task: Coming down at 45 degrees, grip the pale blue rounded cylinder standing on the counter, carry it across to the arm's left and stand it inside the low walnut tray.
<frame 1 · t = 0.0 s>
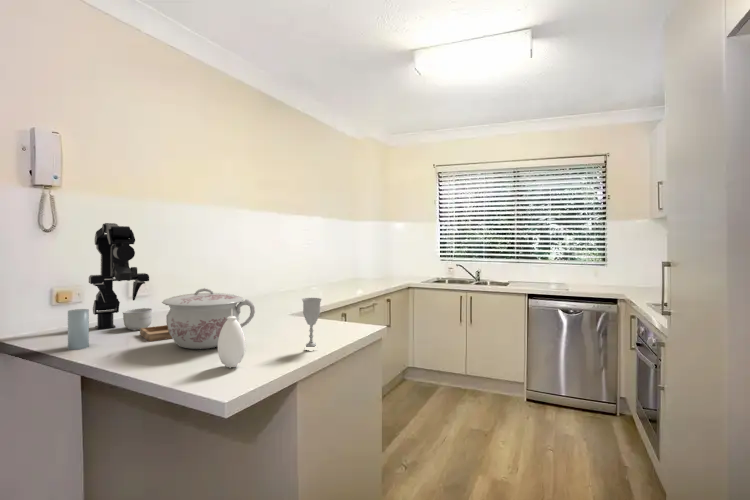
hand: (119, 301, 156), 15 cm above the worktop, tool pointing down, fingers open, 9 cm apart
chamber pot: (204, 345, 152), on the worktop
pale blue rounded cylinder: (78, 347, 146), on the worktop
teacup: (139, 328, 178), on the worktop
chalice: (311, 350, 148), on the worktop
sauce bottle: (231, 367, 127), on the worktop
tray: (161, 335, 164), on the worktop
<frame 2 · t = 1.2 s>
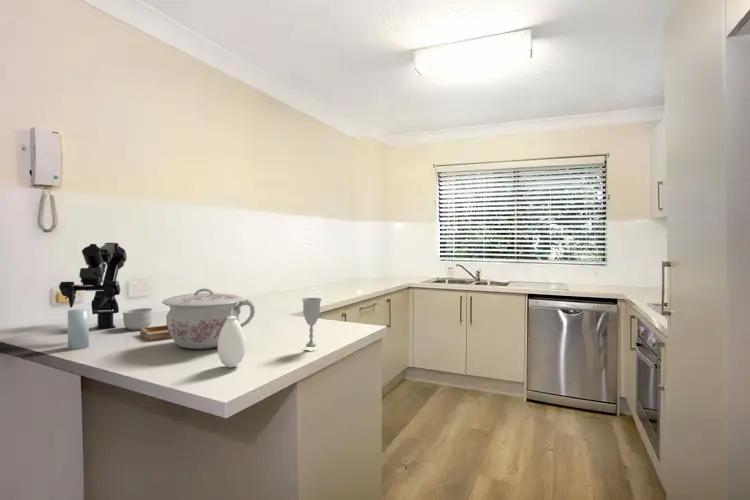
hand: (85, 306, 152), 13 cm above the worktop, tool tilted 45°, fingers open, 9 cm apart
nothing on the worktop moved.
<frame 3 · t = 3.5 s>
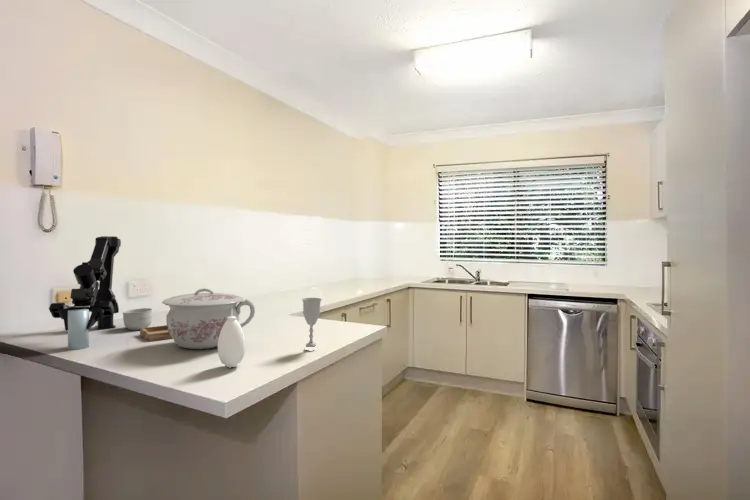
hand: (76, 329, 144), 7 cm above the worktop, tool tilted 45°, fingers closed on pale blue rounded cylinder, 6 cm apart
pale blue rounded cylinder: (78, 347, 146), on the worktop, touching gripper
everything else where it was.
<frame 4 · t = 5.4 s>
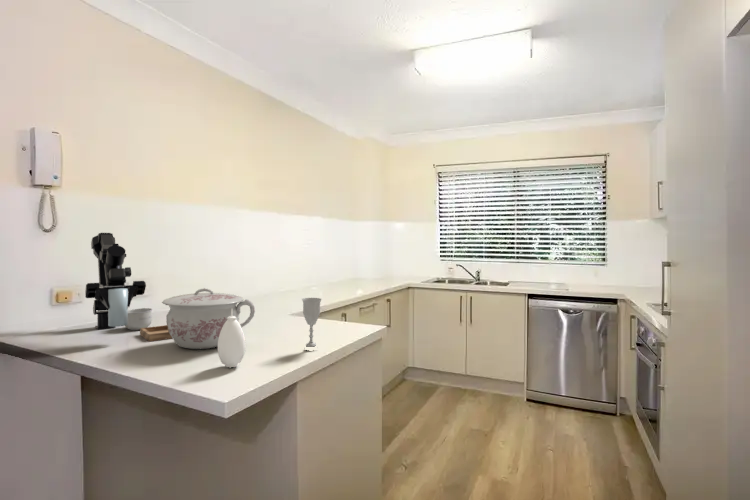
hand: (118, 307, 150), 13 cm above the worktop, tool tilted 45°, fingers closed on pale blue rounded cylinder, 6 cm apart
pale blue rounded cylinder: (118, 324, 151), point 7 cm above the worktop, touching gripper
everything else where it was.
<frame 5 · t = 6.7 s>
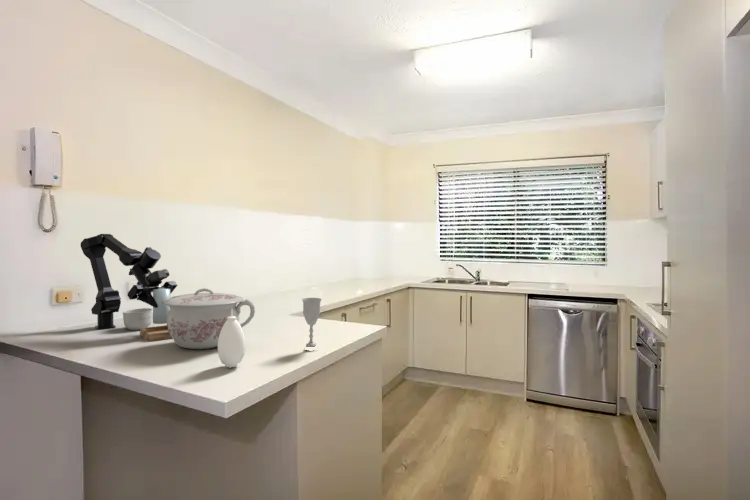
hand: (163, 305, 164), 12 cm above the worktop, tool tilted 45°, fingers closed on pale blue rounded cylinder, 6 cm apart
pale blue rounded cylinder: (161, 322, 164), point 5 cm above the worktop, touching gripper
everything else where it was.
when the fingers open (9 cm above the worktop, at t = 7.6 s): pale blue rounded cylinder drops 1 cm, resting on tray.
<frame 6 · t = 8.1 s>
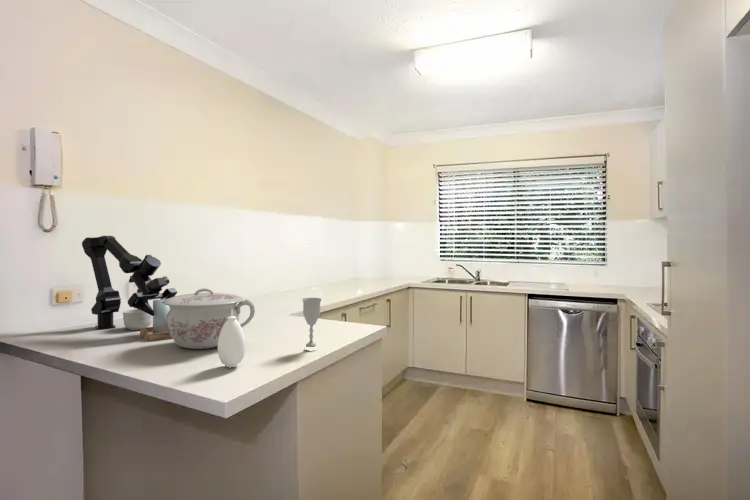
hand: (164, 313, 164), 9 cm above the worktop, tool tilted 45°, fingers open, 9 cm apart
pale blue rounded cylinder: (161, 333, 164), point 1 cm above the worktop, touching tray
everything else where it was.
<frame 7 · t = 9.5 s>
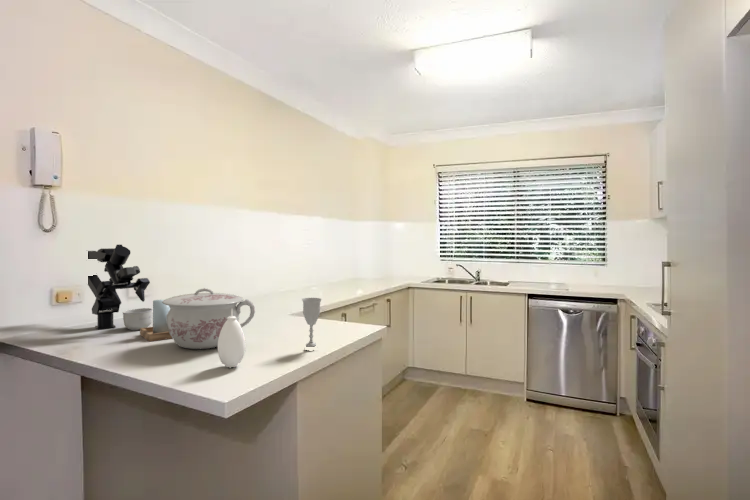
hand: (132, 302, 166), 13 cm above the worktop, tool tilted 45°, fingers open, 9 cm apart
nothing on the worktop moved.
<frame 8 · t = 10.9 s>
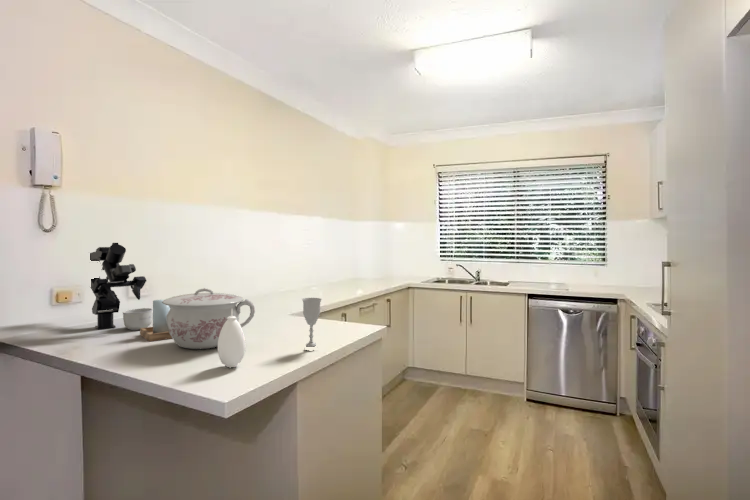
hand: (127, 300, 165), 14 cm above the worktop, tool tilted 45°, fingers open, 9 cm apart
nothing on the worktop moved.
at the end: pale blue rounded cylinder inside the target area on the tray (0.0 cm from its centre), point 1.0 cm above the tray's base; pale blue rounded cylinder tilted 0°; the gripper is holding nothing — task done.
